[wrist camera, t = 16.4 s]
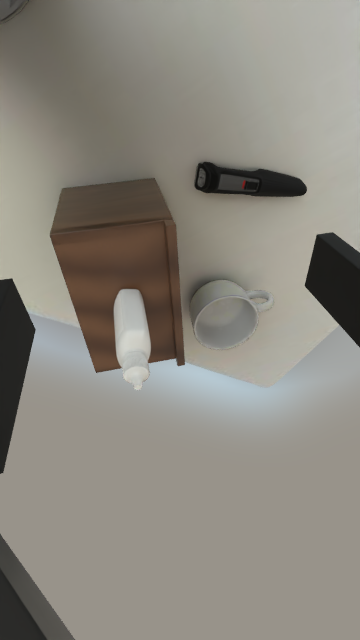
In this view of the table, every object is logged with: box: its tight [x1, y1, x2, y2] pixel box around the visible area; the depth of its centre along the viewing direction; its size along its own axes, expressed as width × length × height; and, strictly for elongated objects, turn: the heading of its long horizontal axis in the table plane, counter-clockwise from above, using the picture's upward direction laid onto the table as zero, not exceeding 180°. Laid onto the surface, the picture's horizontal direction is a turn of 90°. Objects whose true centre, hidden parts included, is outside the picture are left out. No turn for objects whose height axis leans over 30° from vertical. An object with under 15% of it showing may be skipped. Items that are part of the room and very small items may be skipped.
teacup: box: [189, 280, 274, 350], centre depth 54 cm, size 14×11×8 cm
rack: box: [50, 178, 185, 373], centre depth 42 cm, size 20×12×16 cm, turn 3°
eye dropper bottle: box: [114, 289, 151, 390], centre depth 33 cm, size 4×6×12 cm
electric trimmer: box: [195, 162, 307, 197], centre depth 44 cm, size 4×16×3 cm, turn 81°
